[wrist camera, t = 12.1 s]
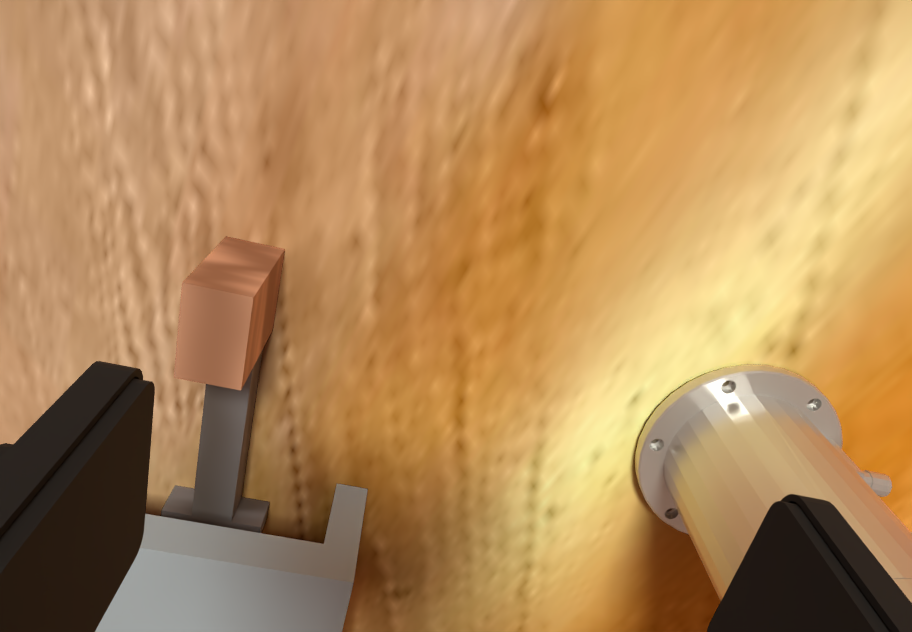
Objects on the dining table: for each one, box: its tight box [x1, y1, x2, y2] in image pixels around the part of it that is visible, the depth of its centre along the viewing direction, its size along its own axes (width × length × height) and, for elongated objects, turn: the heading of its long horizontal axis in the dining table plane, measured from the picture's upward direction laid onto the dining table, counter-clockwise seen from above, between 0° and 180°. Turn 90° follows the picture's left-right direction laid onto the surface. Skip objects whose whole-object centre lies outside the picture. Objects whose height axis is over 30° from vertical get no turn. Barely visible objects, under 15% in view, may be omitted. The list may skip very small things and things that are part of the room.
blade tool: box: [161, 237, 285, 533], centre depth 38 cm, size 6×18×7 cm, turn 167°
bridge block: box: [95, 484, 368, 632], centre depth 42 cm, size 18×8×8 cm, turn 77°
